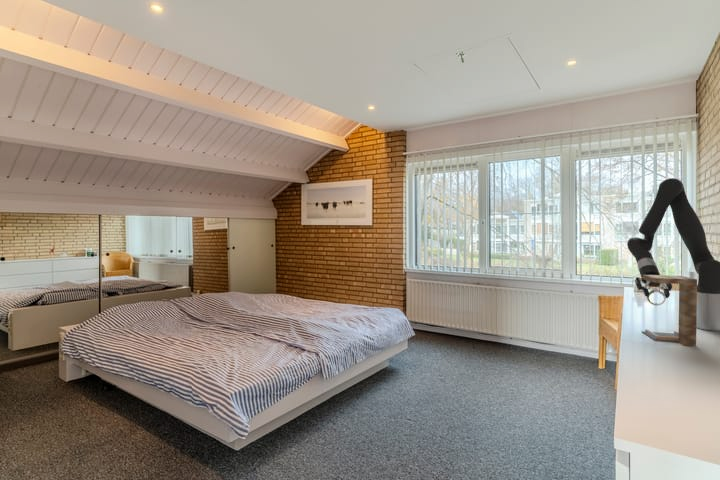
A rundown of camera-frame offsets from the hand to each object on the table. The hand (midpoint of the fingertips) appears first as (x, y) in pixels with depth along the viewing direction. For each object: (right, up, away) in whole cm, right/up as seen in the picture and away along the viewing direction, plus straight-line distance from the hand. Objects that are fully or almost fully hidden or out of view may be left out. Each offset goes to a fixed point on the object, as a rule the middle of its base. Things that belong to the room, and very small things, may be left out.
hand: (657, 296), depth 181 cm
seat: (-5, -16, -11) cm, 20 cm away
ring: (0, -5, +2) cm, 5 cm away
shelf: (-8, -16, -16) cm, 24 cm away
